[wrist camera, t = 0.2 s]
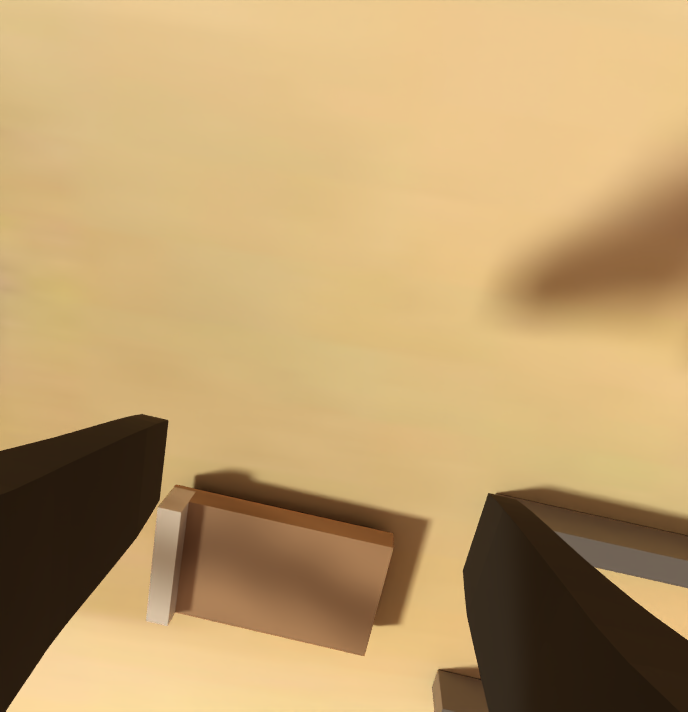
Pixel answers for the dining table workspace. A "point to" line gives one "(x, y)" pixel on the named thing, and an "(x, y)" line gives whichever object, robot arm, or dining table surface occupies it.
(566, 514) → the tray
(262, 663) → the dining table surface
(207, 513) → the brown slab
